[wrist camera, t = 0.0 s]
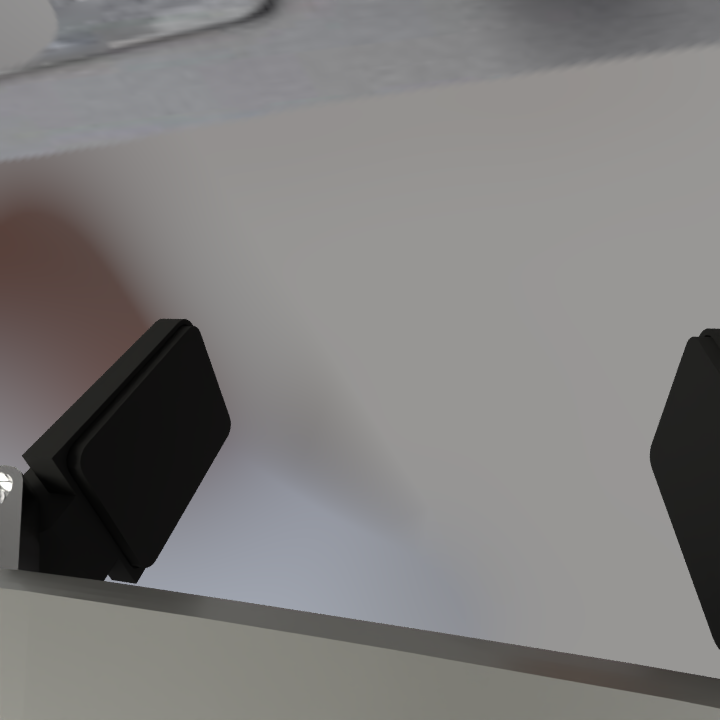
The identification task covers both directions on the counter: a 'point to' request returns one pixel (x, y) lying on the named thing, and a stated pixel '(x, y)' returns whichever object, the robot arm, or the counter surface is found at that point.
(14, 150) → the counter surface
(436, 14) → the counter surface
